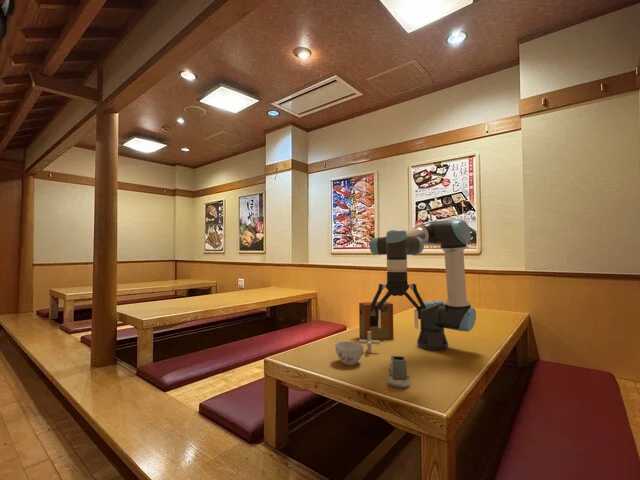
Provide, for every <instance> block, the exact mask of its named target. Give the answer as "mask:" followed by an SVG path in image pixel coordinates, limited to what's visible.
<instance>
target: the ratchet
mask: <svg viewBox="0 0 640 480" xmlns="http://www.w3.org/2000/svg"><path fill="white" fill-rule="evenodd" d="M389 371H390V372H391V363H389ZM387 384H388V386H390V387H391V388H394V389H399V390H405V389H409V388H410V387H411V378H410V376H408V375H407V380H393V379H392V375H391V373H389V374H388V375H387Z"/></svg>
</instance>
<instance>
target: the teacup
mask: <svg viewBox="0 0 640 480" xmlns="http://www.w3.org/2000/svg"><path fill="white" fill-rule="evenodd" d="M334 346H335V352H336V353H335V354H336V355H337V358H338V359H339V360H340V362H341V363H342V364H343V365H347V366H353V365H354V366H355V365H356V364H357V363H358V362H359V361H360V359H361V357H362V356H363V353H364V345H363V343H359V342H357V341H339V342H337V343H336V344H335V345H334Z"/></svg>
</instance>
